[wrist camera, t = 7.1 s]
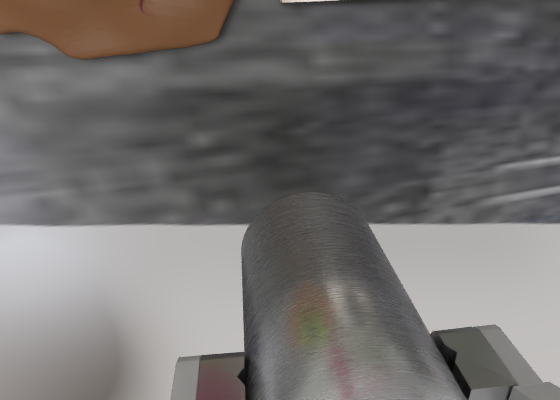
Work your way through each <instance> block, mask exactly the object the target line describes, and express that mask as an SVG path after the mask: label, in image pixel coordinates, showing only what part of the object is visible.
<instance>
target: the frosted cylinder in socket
mask: <svg viewBox="0 0 560 400" xmlns="http://www.w3.org/2000/svg"><path fill="white" fill-rule="evenodd" d="M241 251H242V252H241V256H242V288H243V322H244V352H245V360H246V398H247V400H467V399H466V397H465V395H464V393H463V392H462V390H461V388H460V386H459V384H458V383H457V381H456V379H455V377H454V376H453V374H452V372H451V370H450V369H449V367H448V365H447V363H446V361H445V360H444V358H443V356H442V354H441V353H440V351H439V349H438V347H437V346H436V344H435V342H434V340H433V338H432V337H431V335H430V333H429V331H428V330H427V328H426V326H425V324H424V323H423V321H422V319H421V317H420V315H419V314H418V312H417V310H416V308H415V307H414V305H413V303H412V301H411V299H410V298H409V296H408V294H407V293H406V291H405V289H404V287H403V285H402V284H401V282H400V280H399V278H398V277H397V275H396V273H395V271H394V269H393V268H392V266H391V265H390V262H389V261H388V259H387V257H386V255H385V253H384V252H383V250H382V248H381V246H380V245H379V243H378V241H377V239H376V238H375V236H374V234H373V232H372V230H371V229H370V227H369V225H368V223H367V222H366V220H365V218H364V217H363V215H362V214H361V212H360V211H359V210H358V209H357V208H356V207H355V206H353V205H352V204H351V203H349V202H348V201H346V200H344V199H342V198H340V197H337V196H335V195H331V194H327V193H319V192H305V193H298V194H294V195H290V196H287V197H284V198H282V199H279V200H277V201H276V202H274V203H272V204H270V205H269V206H267V207H266V208H265V209H263V210H262V211H261V212H260V213H259V214H258V215H257V216H256V217H255V218H254V219H253V221H252V222H251V224H250V225H249V227H248V228H247V231H246V233H245V235H244V238H243V241H242V248H241Z"/></svg>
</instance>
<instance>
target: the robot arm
mask: <svg viewBox="0 0 560 400" xmlns="http://www.w3.org/2000/svg"><path fill="white" fill-rule="evenodd" d="M430 335H431V337H432V338H433V340H434V342H435V344H436V346H437V347H438V349H439V351H440V353H441V354H442V356H443V358H444V360H445V361H446V363H447V365H448V367H449V369H450V370H451V372H452V374H453V376H454V377H455V379H456V381H457V383H458V384H459V386H460V388H461V390H462V392H463V393H464V395H465V397H466V399H467V400H560V388H559V387H557V386H555V385H554V384H552V383H550V382H545V383H543V382H542V380H541V379H540V378H539V377H538V375H537V374H536V373H535V372H534V371H533V370H532V368H531V367H530V365H529V364H528V363H527V362H526V360H525V359H524V358H523V357H522V355H521V354H520V353H519V351H518V350H517V349H516V348H515V346H514V345H513V344H512V343H511V341H510V340H509V339H508V337H507V336H506V335H505V334H504V332H503V331H502V330H501V329H500V328H499V327H498V326H496V325H486V326H477V327H465V328H457V329H448V330H441V331H433V332H432V333H431V334H430ZM171 400H247V398H246V360H245V352H237V353H224V354H212V355H201V356H190V357H179V358H178V361H177V363H176V367H175V374H174V380H173V388H172V393H171Z"/></svg>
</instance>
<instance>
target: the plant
mask: <svg viewBox="0 0 560 400" xmlns="http://www.w3.org/2000/svg"><path fill="white" fill-rule="evenodd" d="M233 2H234V0H0V35H2V34H7V33H13V32H21V33H26V34H30V35H33V36H35V37H38V38H40V39H42V40H44V41H46V42H48V43H50V44H51V45H53V46H54V47H56V48H57V49H59V50H60V51H61V52H62V53H64V54H65V55H67V56H68V57H72V58H76V59H95V58H101V57H106V56H116V55H126V54H135V53H142V52H149V51H156V50H165V49H177V48H184V47H190V46H195V45H199V44H204V43H208V42H211V41H213V40H214V39H216V38H217V37H218V36H219V34H220V31H221V28H222V26H223V24H224V22H225V20H226V17H227V15H228V13H229V10H230V8H231V6H232V4H233Z"/></svg>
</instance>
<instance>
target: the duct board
mask: <svg viewBox="0 0 560 400" xmlns="http://www.w3.org/2000/svg"><path fill="white" fill-rule="evenodd" d="M312 1H337V0H280V2H282V3H287V2H312Z"/></svg>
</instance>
